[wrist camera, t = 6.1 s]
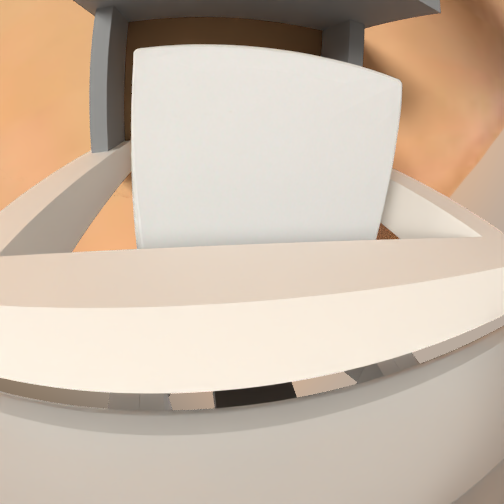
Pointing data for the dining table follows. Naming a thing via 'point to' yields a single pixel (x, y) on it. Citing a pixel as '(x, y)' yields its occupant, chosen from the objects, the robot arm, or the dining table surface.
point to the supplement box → (258, 146)
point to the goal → (229, 256)
